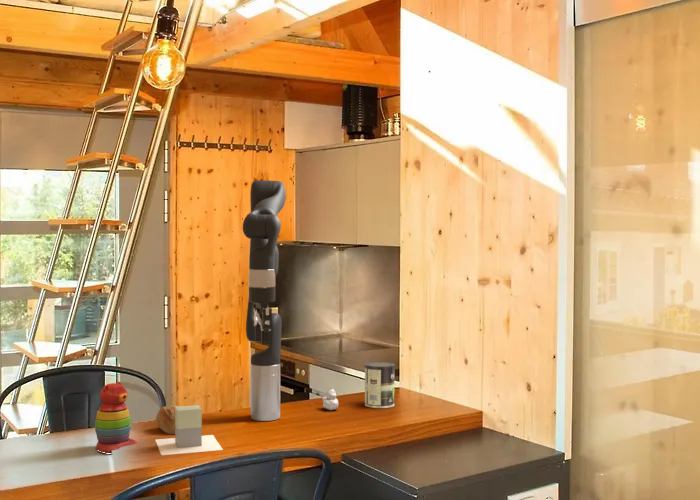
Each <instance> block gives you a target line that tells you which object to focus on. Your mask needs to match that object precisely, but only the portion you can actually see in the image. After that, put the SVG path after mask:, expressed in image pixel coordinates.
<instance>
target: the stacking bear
mask: <svg viewBox="0 0 700 500" xmlns="http://www.w3.org/2000/svg"><path fill="white" fill-rule="evenodd" d="M99 395H100V400H101V403H102V404H101V405H100V407H98V408H99V409H98V410H97V412H96V415H95V416H96V418H95V421H94V429H95V434H96V437H97V438H96V439H97V442H96V445H95V449H97V450H99V451H101V452H105V453H112V451H116V450H120V448H123V447H126V446H133V445H137V444H139V441H138V440H136V439H134V438H130V432H131V427H132V419H131V416H130V411H129V407H128V405H127V404H126V401H127V399H128V398H129V397H128V396H129V393H128V391H127V389H126V388H125V387H124V386H123V385H122V383H121V382H120V381H116V382H113V383H107V384H105V385H103V387H102V389H101V390H100V393H99ZM97 450H96V451H97ZM112 454H113V453H112Z"/></svg>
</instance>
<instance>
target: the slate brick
mask: <svg viewBox="0 0 700 500" xmlns="http://www.w3.org/2000/svg"><path fill="white" fill-rule="evenodd" d="M202 429H203V427H201V428H188V429H177V427H176V425H175V434H174V435H175V436H174V438H175V444H176V446H177V448H183V447H195V446H202V436H203V435H202V432H203V430H202Z"/></svg>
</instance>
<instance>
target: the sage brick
mask: <svg viewBox="0 0 700 500" xmlns="http://www.w3.org/2000/svg"><path fill="white" fill-rule="evenodd" d="M178 406H179V407H175V425H176V427H177V429H188V428H201V427H202V426H203V425H202V424H203V423H202V422H203V421H202V419H203V418H202V417H203V415H202V414H203V409H202V407H201V406H200V405H198V404H197V405H196V404H194V405H178ZM202 428H203V427H202Z"/></svg>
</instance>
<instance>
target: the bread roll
mask: <svg viewBox="0 0 700 500" xmlns="http://www.w3.org/2000/svg"><path fill="white" fill-rule="evenodd" d="M179 406H180V405H177V404H175V405H170V404H169V405H165V406H162V407H161V408H159V410H158V412H157V413H156V415H155V421H156V424H157V426H158V428H159V429H160V430H162V431H163V432H164V433H166V434H168V435H175V407H179Z"/></svg>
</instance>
